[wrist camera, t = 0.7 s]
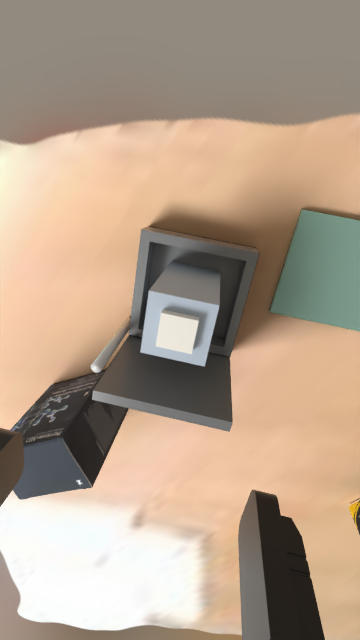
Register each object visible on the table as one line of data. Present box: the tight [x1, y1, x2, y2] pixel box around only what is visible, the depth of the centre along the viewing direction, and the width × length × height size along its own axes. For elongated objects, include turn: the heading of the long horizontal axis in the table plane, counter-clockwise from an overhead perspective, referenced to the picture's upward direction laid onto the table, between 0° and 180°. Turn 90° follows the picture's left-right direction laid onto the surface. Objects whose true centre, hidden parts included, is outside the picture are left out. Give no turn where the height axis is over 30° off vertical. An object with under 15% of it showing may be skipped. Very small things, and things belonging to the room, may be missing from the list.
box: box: [10, 370, 128, 500], centre depth 30 cm, size 8×6×11 cm
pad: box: [269, 209, 360, 331], centre depth 26 cm, size 9×9×1 cm
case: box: [91, 226, 259, 432], centre depth 24 cm, size 11×11×11 cm
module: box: [140, 261, 220, 367], centre depth 24 cm, size 4×4×10 cm
